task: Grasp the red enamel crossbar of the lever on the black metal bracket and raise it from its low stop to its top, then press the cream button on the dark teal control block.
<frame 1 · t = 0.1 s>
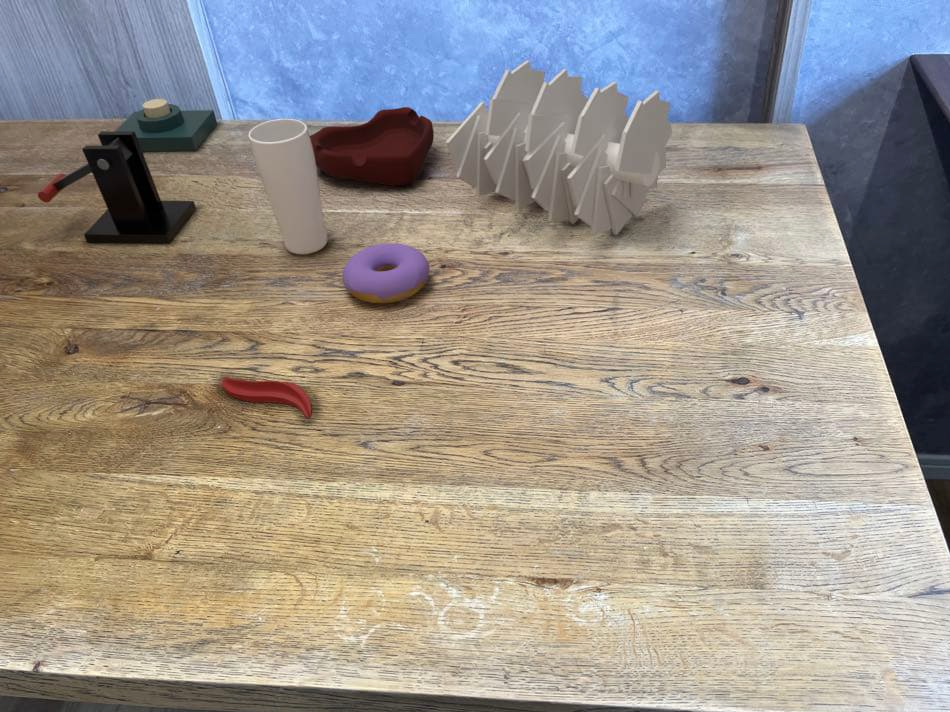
button: (156, 109, 125), point 5 cm above the table, slide at 0.1 cm
bracket: (143, 225, 108), on the table
control block: (166, 137, 128), on the table
lever: (85, 170, 103), point 8 cm above the table, hinge at -25.0°
cayenne pepper: (269, 396, 82), on the table
ashtray: (385, 170, 118), on the table
spiral staircase: (564, 212, 107), on the table
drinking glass: (307, 246, 103), on the table
donut: (389, 287, 95), on the table
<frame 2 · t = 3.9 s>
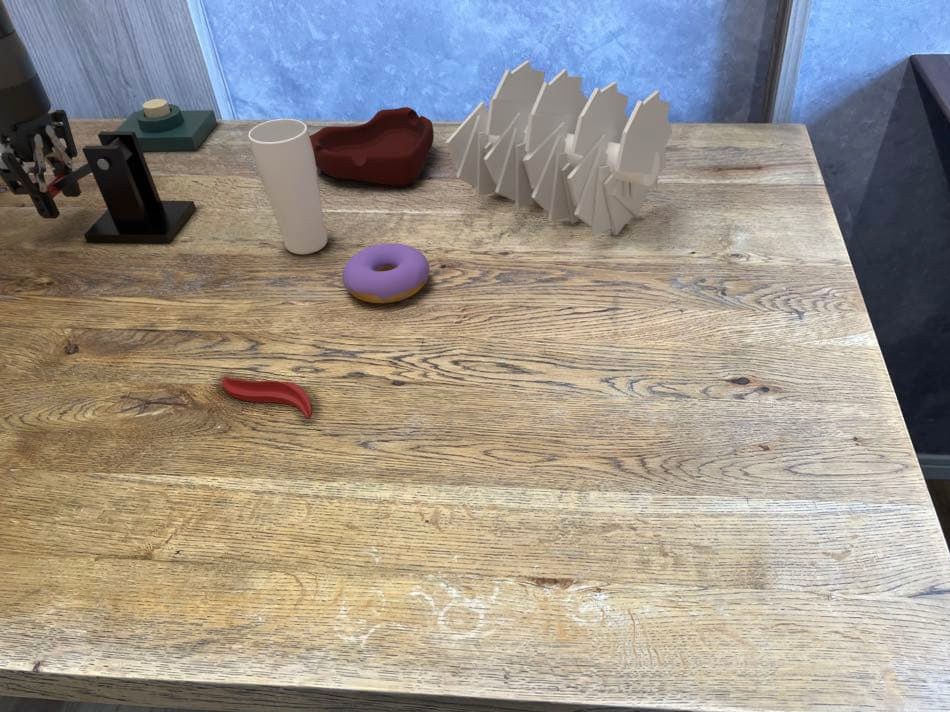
hand: (62, 205, 107), 3 cm above the table, tool pointing down, fingers closed on lever, 5 cm apart
lever: (85, 170, 103), point 8 cm above the table, hinge at -25.1°, touching gripper
everything else where it was.
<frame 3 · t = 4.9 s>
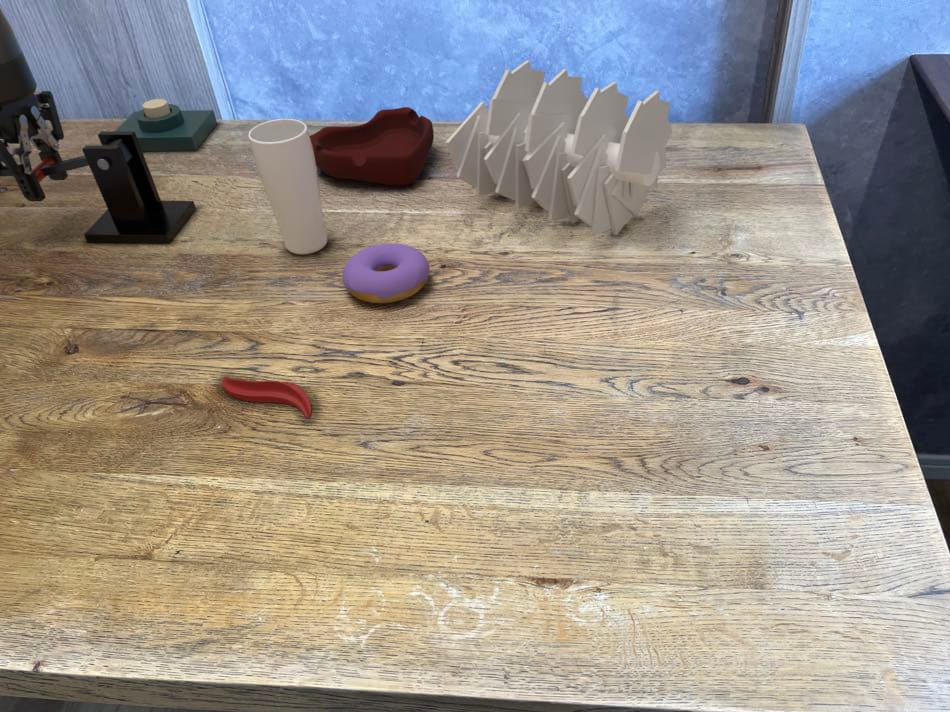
hand: (48, 188, 105), 5 cm above the table, tool pointing down, fingers closed on lever, 5 cm apart
lever: (79, 162, 102), point 9 cm above the table, hinge at -12.6°, touching gripper
everything else where it was.
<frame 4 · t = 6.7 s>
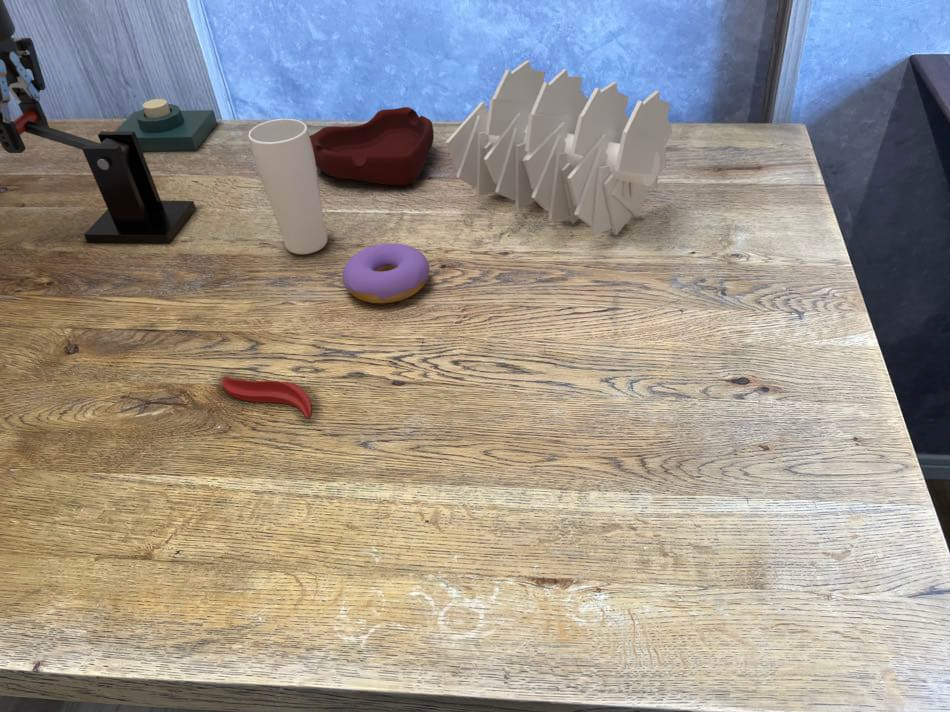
hand: (28, 141, 101), 12 cm above the table, tool pointing down, fingers closed on lever, 5 cm apart
lever: (70, 140, 100), point 12 cm above the table, hinge at 19.9°, touching gripper
everything else where it was.
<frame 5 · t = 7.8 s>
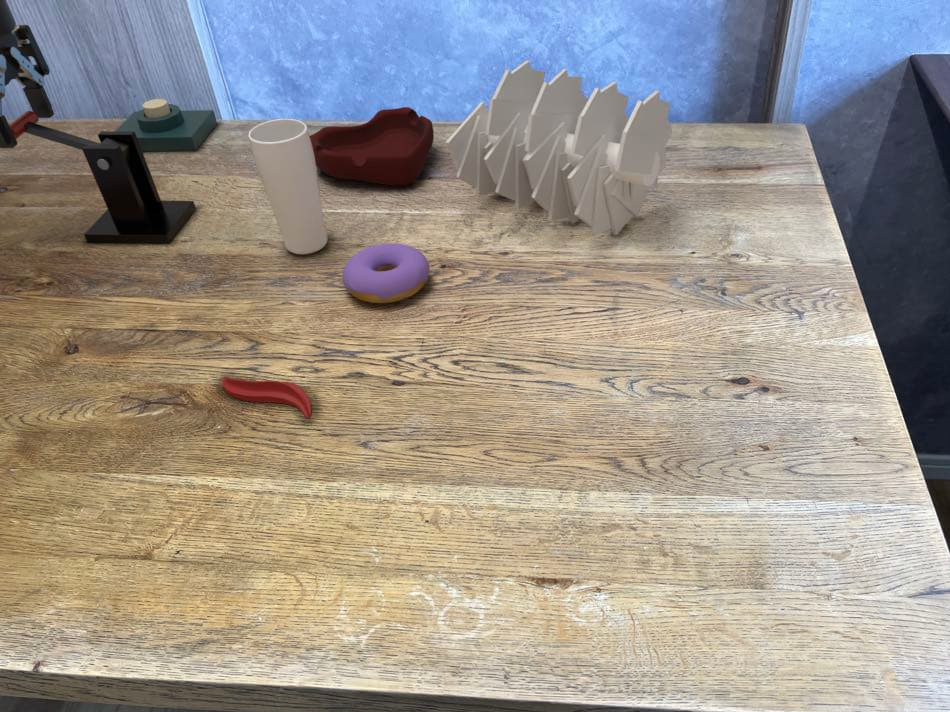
hand: (27, 131, 100), 13 cm above the table, tool pointing down, fingers open, 8 cm apart
lever: (70, 140, 100), point 12 cm above the table, hinge at 19.5°
everything else where it was.
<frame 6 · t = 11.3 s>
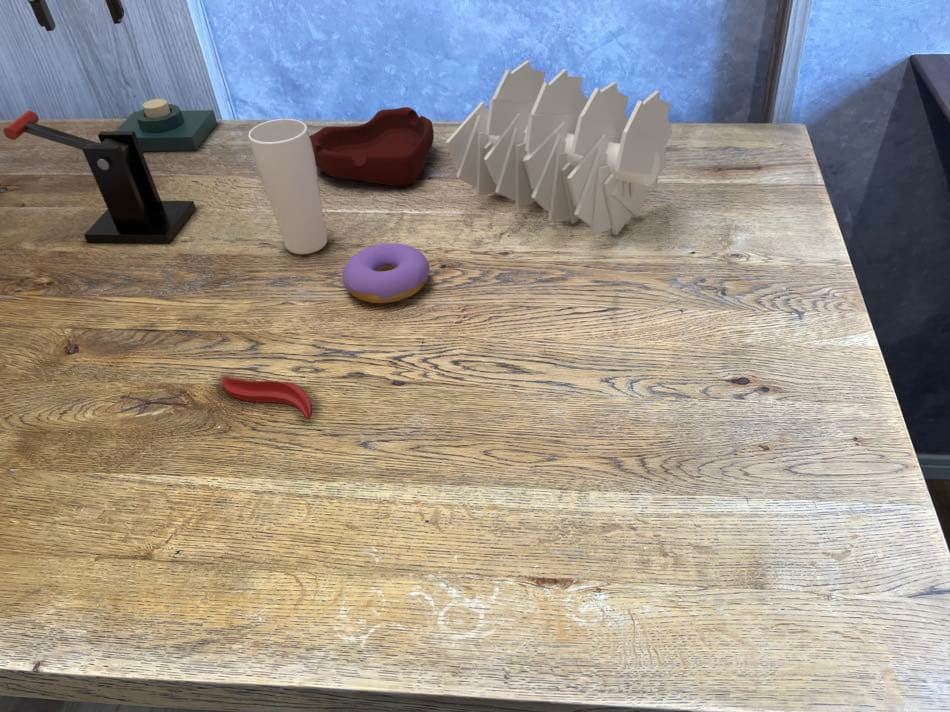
hand: (85, 25, 109), 20 cm above the table, tool pointing down, fingers open, 8 cm apart
nothing on the table moved.
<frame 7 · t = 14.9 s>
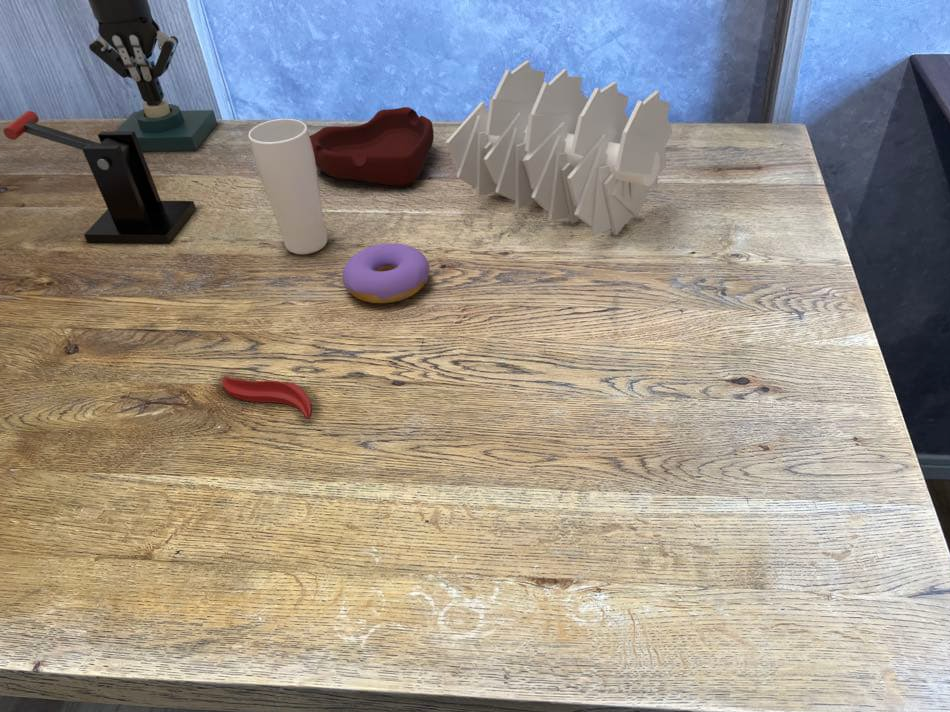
hand: (155, 103, 125), 5 cm above the table, tool pointing down, fingers closed
button: (156, 109, 125), point 5 cm above the table, slide at 0.1 cm, touching gripper
everything else where it was.
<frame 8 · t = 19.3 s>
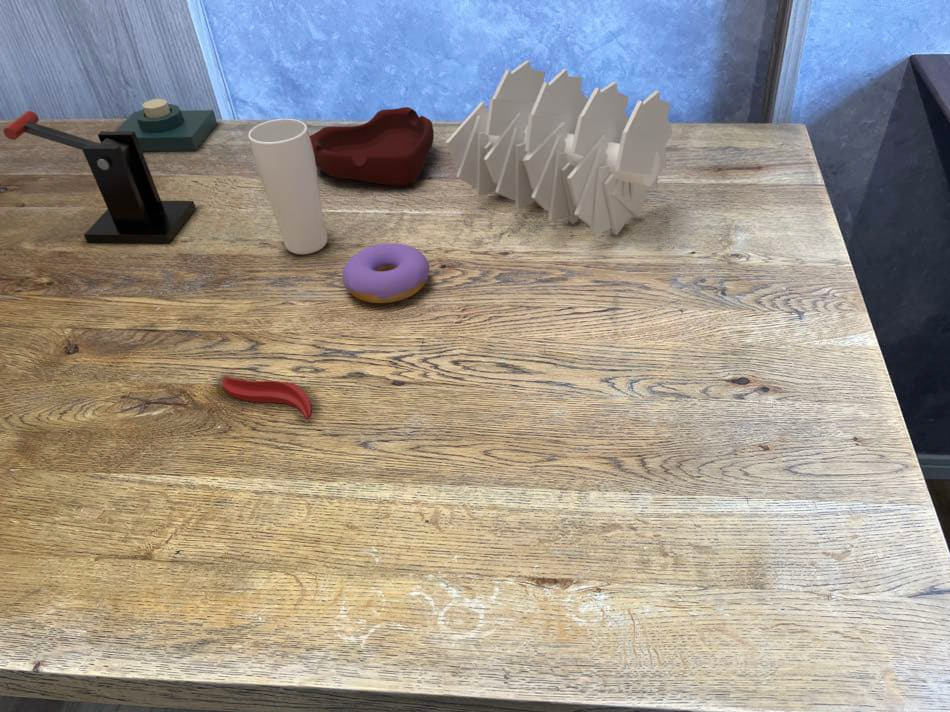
button: (156, 109, 125), point 5 cm above the table, slide at 0.1 cm
everything else where it was.
at the end: lever at +20° (first picture: -25°); button pushed in 1.1 cm at the most during the clip, back to where it started at the end; button slide at 0.1 cm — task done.
